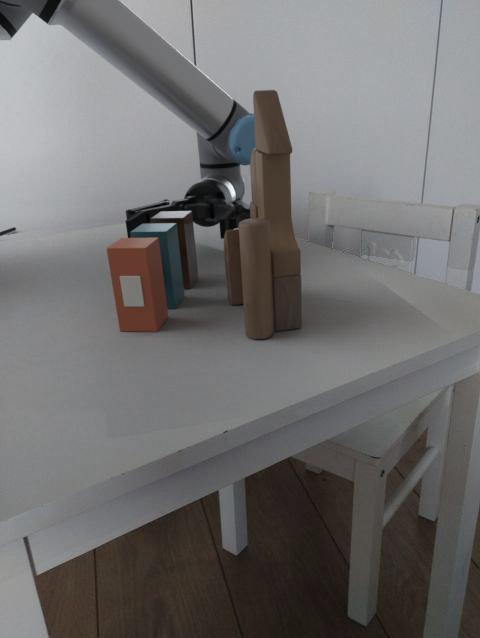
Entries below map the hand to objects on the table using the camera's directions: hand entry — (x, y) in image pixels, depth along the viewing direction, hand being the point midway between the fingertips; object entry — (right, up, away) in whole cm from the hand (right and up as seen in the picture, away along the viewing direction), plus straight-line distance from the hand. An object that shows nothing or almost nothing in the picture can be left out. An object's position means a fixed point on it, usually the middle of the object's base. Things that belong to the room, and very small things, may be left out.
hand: (175, 229), depth 80 cm
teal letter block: (-1, -11, -5) cm, 12 cm away
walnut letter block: (0, -7, +2) cm, 8 cm away
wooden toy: (+12, -13, -10) cm, 20 cm away
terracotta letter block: (-2, -14, -11) cm, 18 cm away
